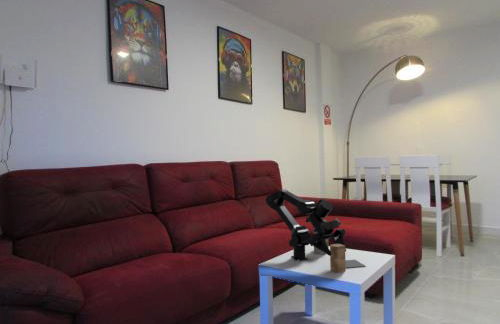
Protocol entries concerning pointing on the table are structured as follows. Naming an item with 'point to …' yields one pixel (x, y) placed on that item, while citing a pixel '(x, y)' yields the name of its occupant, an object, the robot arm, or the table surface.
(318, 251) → the coffee box
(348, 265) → the mat
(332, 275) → the table surface
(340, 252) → the walnut block
